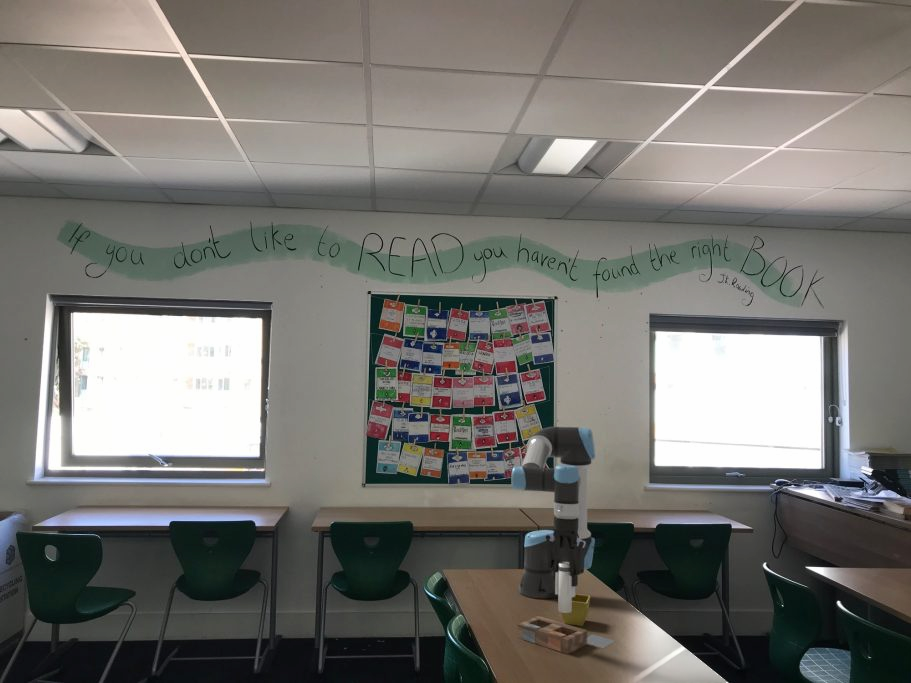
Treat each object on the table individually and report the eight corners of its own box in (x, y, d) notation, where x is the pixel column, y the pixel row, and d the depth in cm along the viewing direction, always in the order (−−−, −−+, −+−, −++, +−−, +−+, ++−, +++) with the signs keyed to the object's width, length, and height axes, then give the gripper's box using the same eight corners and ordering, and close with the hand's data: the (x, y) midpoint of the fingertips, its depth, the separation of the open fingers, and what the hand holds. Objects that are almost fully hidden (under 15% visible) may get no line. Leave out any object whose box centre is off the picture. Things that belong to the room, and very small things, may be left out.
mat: (592, 637, 206) (592, 634, 206) (615, 644, 201) (615, 641, 201) (579, 644, 200) (579, 640, 200) (602, 651, 195) (602, 648, 195)
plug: (562, 607, 200) (563, 561, 201) (574, 610, 197) (574, 563, 199) (555, 610, 197) (555, 563, 198) (567, 613, 194) (567, 565, 196)
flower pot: (590, 622, 220) (590, 595, 221) (586, 631, 212) (587, 602, 212) (564, 619, 223) (564, 592, 223) (559, 627, 214) (560, 599, 215)
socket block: (537, 632, 210) (538, 615, 210) (587, 647, 198) (587, 629, 198) (517, 641, 201) (517, 623, 202) (567, 657, 189) (567, 638, 190)
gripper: (536, 514, 203) (534, 591, 201) (584, 522, 192) (583, 604, 189) (549, 511, 208) (548, 587, 206) (596, 519, 197) (596, 598, 195)
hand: (565, 595), depth 198 cm, fingers closed on plug, 4 cm apart
